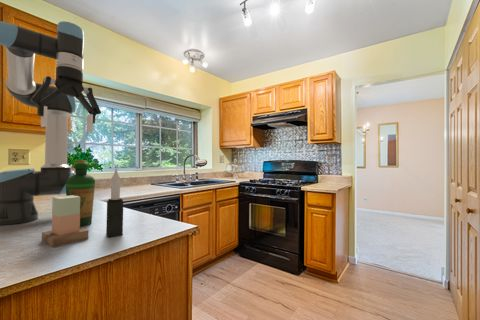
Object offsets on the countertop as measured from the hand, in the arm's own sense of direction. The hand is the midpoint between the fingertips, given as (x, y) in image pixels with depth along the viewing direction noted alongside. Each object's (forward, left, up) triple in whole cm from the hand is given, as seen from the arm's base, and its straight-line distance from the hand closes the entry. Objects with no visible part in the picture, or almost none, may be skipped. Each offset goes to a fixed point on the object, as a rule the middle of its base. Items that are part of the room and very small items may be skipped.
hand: (68, 129), depth 78 cm
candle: (+8, +13, -39) cm, 42 cm away
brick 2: (0, 0, -36) cm, 36 cm away
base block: (0, 0, -39) cm, 39 cm away
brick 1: (0, 0, -30) cm, 30 cm away
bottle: (-17, +12, -39) cm, 44 cm away
